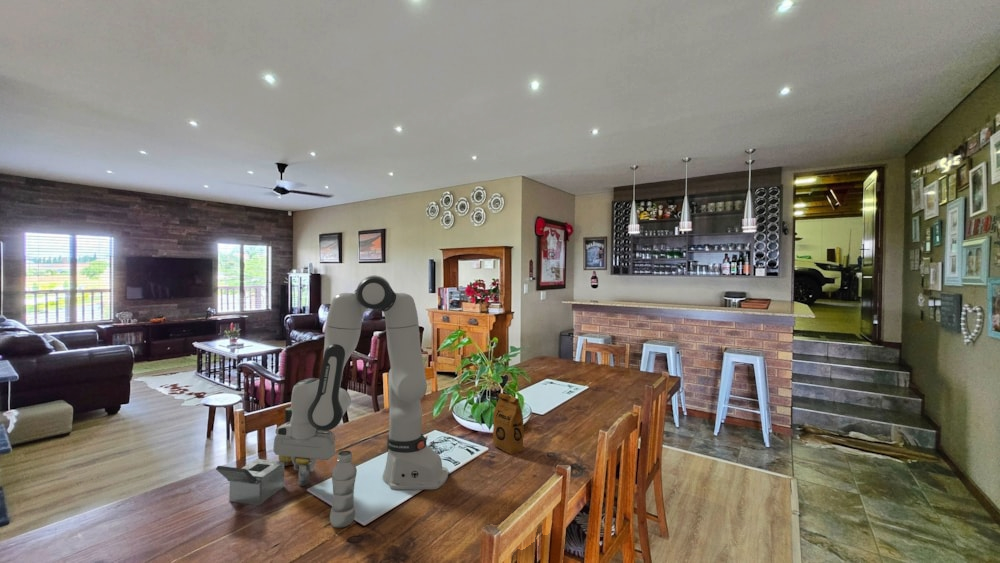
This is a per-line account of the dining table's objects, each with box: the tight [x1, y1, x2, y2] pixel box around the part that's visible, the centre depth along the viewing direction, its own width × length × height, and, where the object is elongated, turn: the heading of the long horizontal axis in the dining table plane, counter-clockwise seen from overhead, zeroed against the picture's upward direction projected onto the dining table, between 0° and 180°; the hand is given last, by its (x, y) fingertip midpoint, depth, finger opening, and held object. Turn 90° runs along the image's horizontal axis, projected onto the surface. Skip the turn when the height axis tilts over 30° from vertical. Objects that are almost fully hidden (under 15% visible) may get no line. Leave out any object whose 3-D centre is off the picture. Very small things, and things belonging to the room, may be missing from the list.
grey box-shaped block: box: [228, 458, 285, 506], centre depth 127 cm, size 10×11×8 cm
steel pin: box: [296, 457, 312, 487], centre depth 134 cm, size 5×5×9 cm
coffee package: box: [492, 392, 525, 456], centre depth 167 cm, size 10×12×22 cm
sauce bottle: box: [278, 406, 294, 467], centre depth 148 cm, size 6×6×20 cm
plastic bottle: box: [329, 450, 358, 529], centre depth 114 cm, size 6×7×20 cm
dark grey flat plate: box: [215, 465, 259, 484], centre depth 119 cm, size 9×8×1 cm
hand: (304, 469), depth 134 cm, fingers closed on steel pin, 3 cm apart
